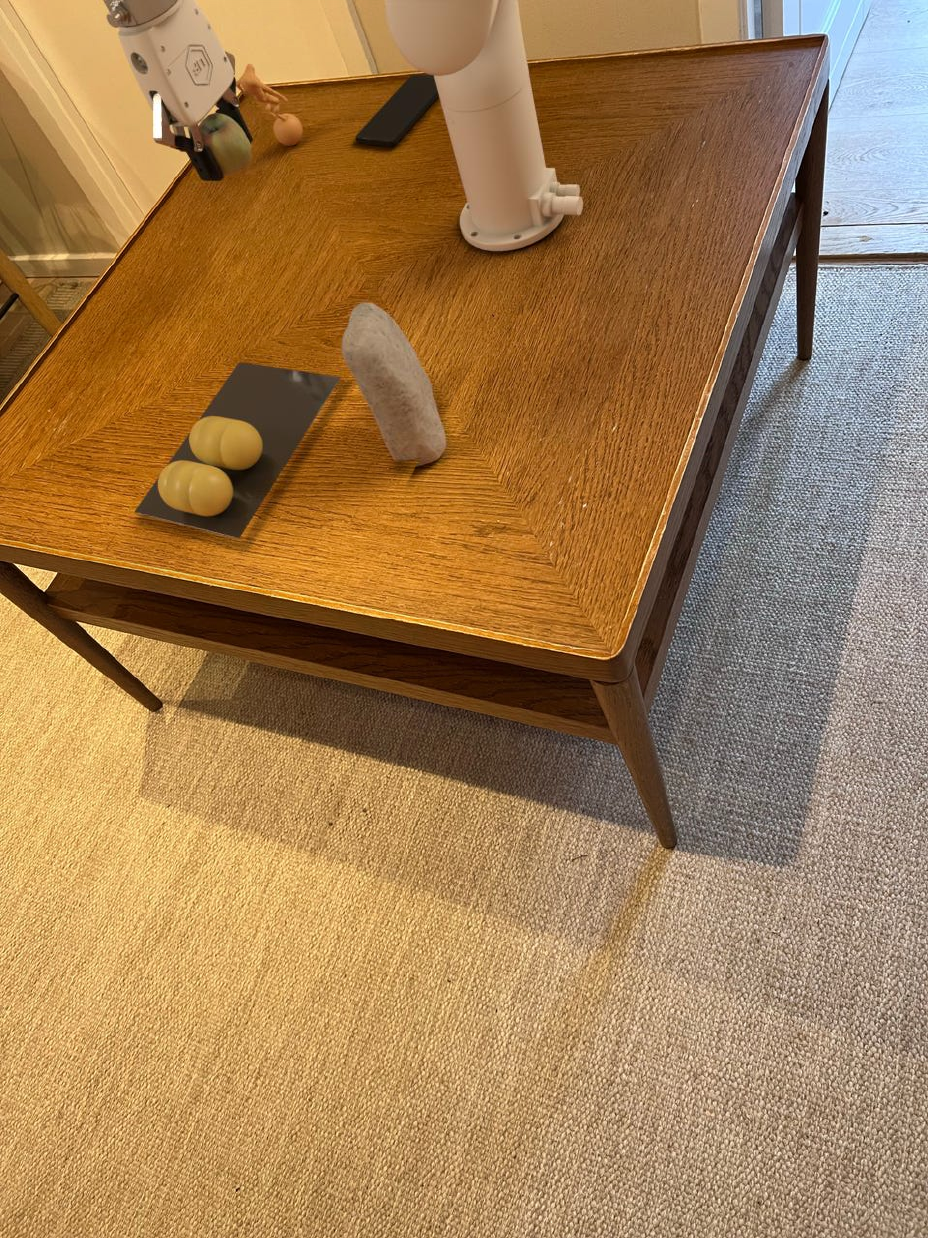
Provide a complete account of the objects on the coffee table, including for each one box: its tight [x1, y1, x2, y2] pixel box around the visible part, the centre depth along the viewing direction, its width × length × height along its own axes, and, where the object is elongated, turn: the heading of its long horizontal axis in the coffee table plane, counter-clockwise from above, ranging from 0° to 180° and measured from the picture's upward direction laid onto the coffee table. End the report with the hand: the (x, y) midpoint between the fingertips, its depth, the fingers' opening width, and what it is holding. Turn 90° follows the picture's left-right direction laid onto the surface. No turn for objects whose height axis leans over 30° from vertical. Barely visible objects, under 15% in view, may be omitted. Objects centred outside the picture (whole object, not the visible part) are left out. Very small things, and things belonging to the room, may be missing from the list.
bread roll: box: [157, 460, 233, 516], centre depth 90 cm, size 8×5×5 cm, turn 65°
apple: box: [198, 112, 252, 177], centre depth 105 cm, size 6×8×6 cm
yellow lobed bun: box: [189, 416, 262, 470], centre depth 93 cm, size 8×5×5 cm, turn 65°
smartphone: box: [355, 74, 439, 148], centre depth 124 cm, size 7×1×15 cm
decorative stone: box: [341, 302, 447, 468], centre depth 86 cm, size 11×6×15 cm, turn 5°
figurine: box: [236, 63, 303, 147], centre depth 123 cm, size 8×6×12 cm
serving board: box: [133, 361, 342, 540], centre depth 96 cm, size 14×22×2 cm, turn 155°
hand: (227, 159), depth 107 cm, fingers closed on apple, 6 cm apart
